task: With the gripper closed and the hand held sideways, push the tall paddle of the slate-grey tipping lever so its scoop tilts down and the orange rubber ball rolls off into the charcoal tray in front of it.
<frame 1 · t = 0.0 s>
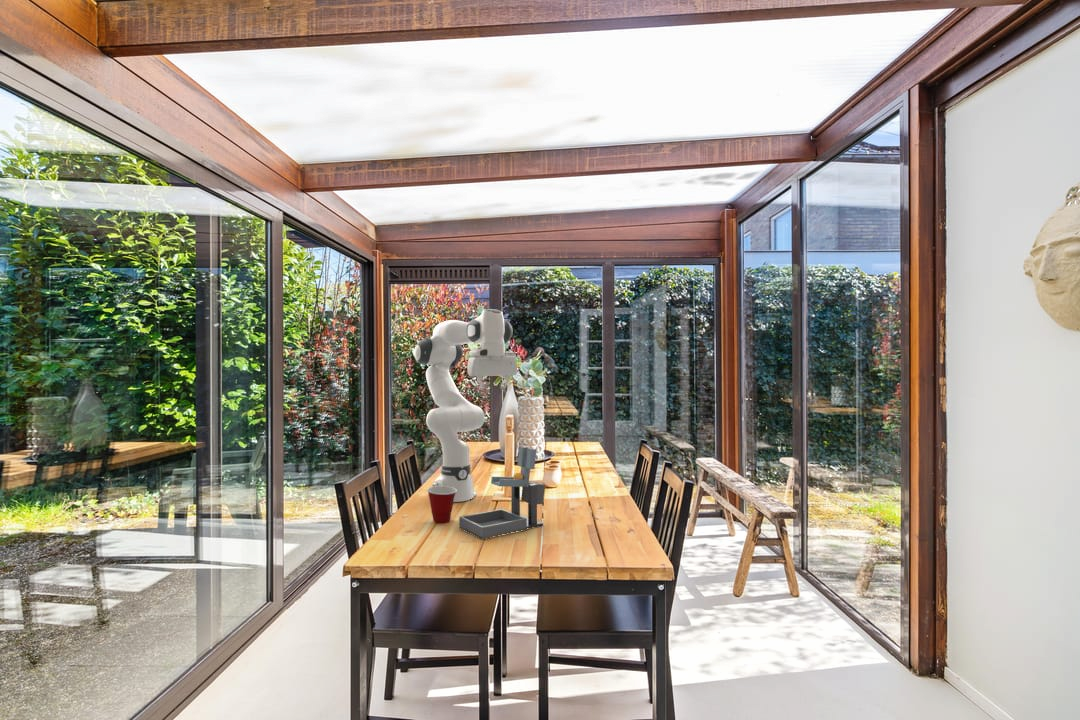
hand: (493, 388, 223), 48 cm above the table, tool pointing down, fingers open, 8 cm apart
lever stand: (524, 522, 212), on the table
lever: (519, 474, 210), point 18 cm above the table, hinge at -8.0°, touching ball
tray: (492, 529, 204), on the table
ball: (518, 477, 210), point 17 cm above the table, touching lever
plastic cup: (442, 522, 214), on the table
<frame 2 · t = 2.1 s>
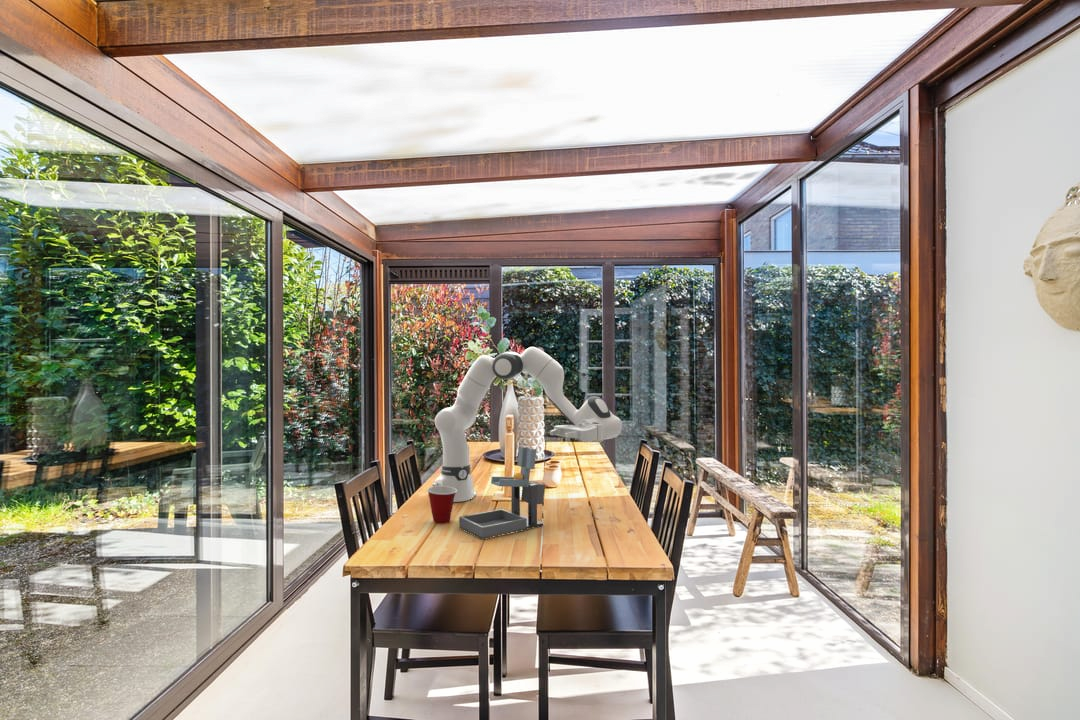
hand: (558, 434, 220), 31 cm above the table, tool horizontal, fingers open, 8 cm apart
nothing on the table moved.
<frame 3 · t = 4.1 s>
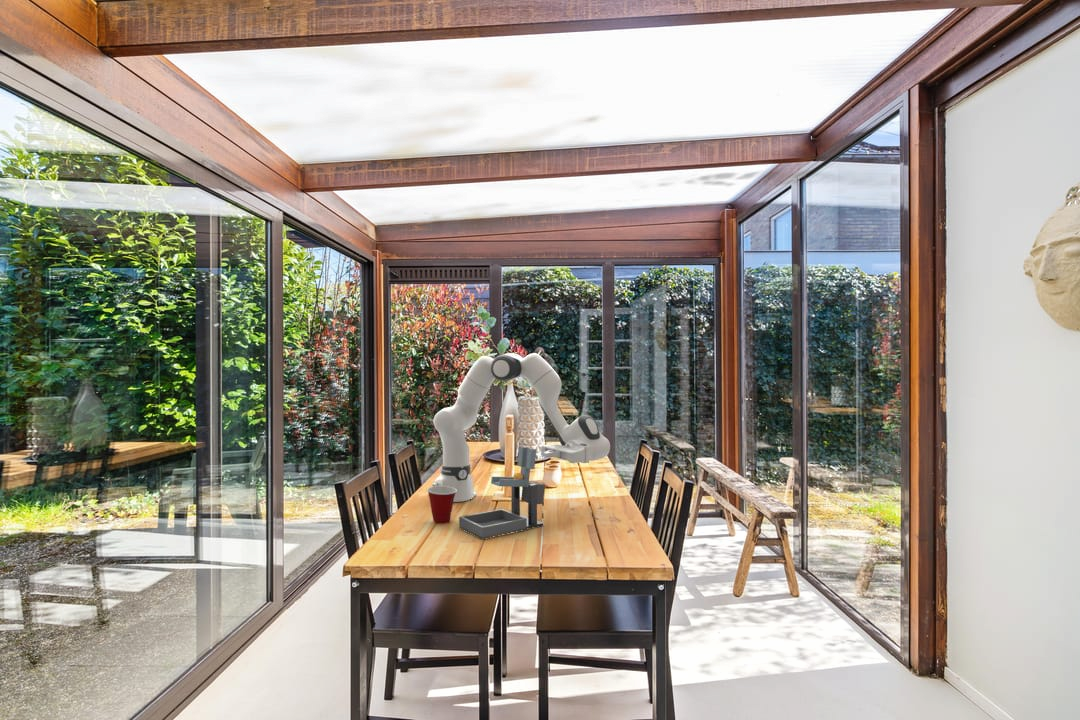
hand: (545, 454, 217), 24 cm above the table, tool horizontal, fingers closed
nothing on the table moved.
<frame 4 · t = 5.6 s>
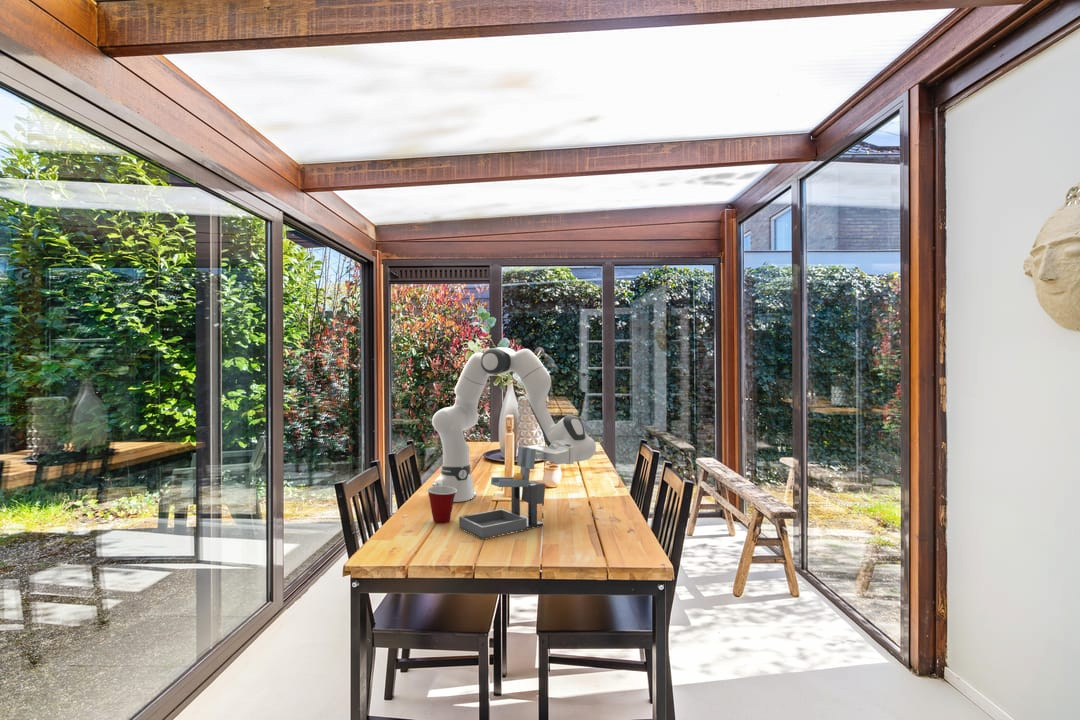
hand: (529, 455, 213), 24 cm above the table, tool horizontal, fingers closed, pressing on lever
lever: (518, 475, 210), point 18 cm above the table, hinge at -6.8°, touching ball, gripper
everything else where it was.
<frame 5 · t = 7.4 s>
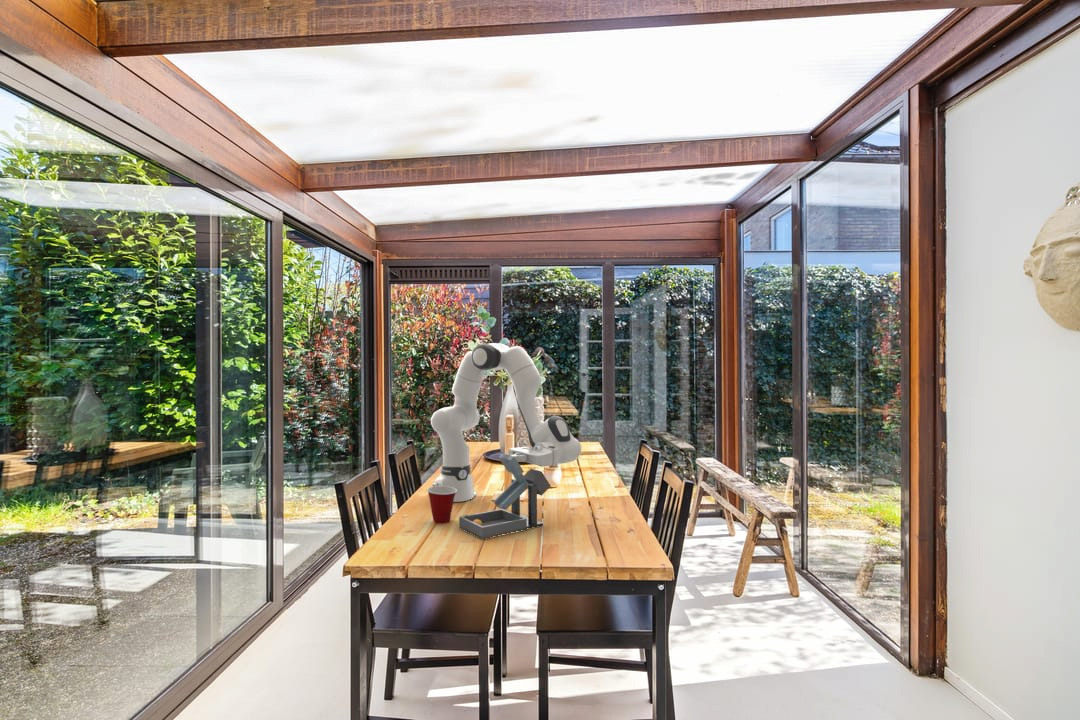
hand: (511, 458, 208), 24 cm above the table, tool horizontal, fingers closed, pressing on lever
lever: (514, 482, 209), point 15 cm above the table, hinge at 35.1°, touching gripper
ball: (477, 524, 200), point 3 cm above the table, tilted 95°, touching tray
everything else where it was.
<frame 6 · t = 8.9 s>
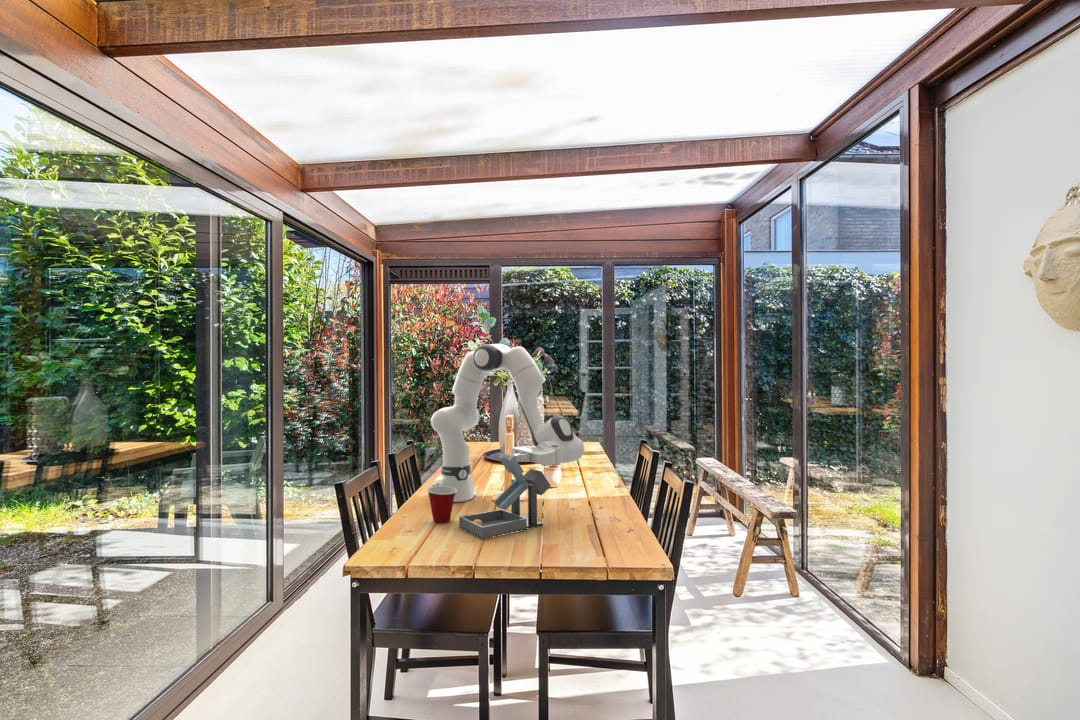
hand: (514, 457, 209), 24 cm above the table, tool horizontal, fingers closed
lever: (514, 482, 209), point 15 cm above the table, hinge at 35.3°
everything else where it was.
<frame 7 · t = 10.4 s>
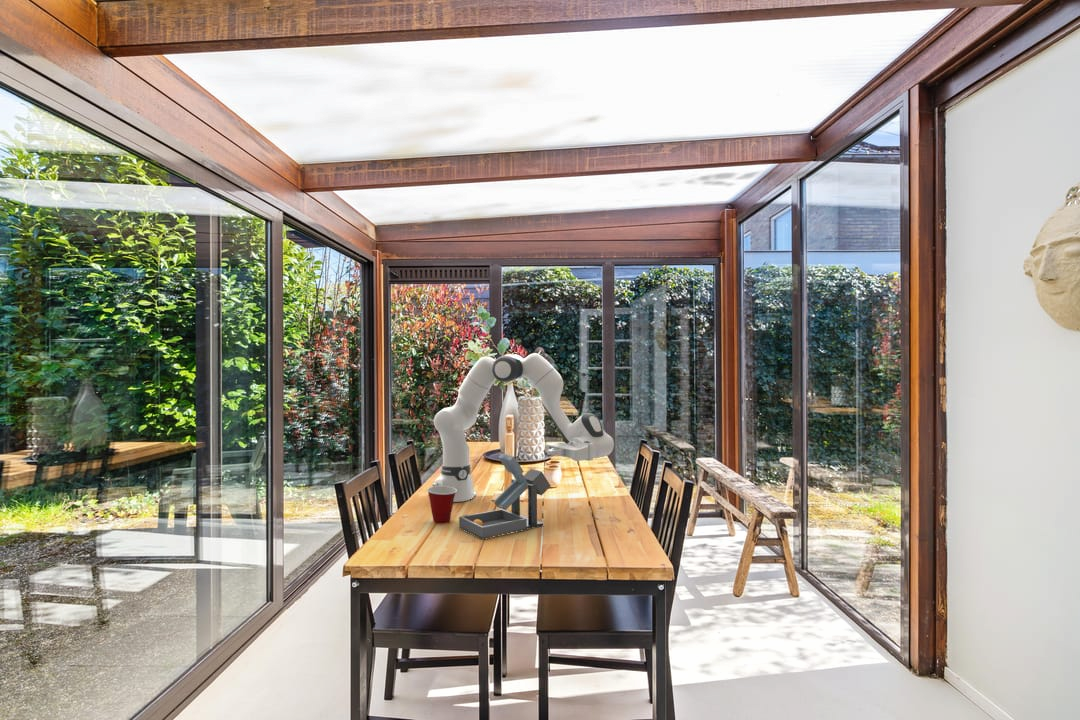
hand: (549, 452, 218), 24 cm above the table, tool horizontal, fingers closed
nothing on the table moved.
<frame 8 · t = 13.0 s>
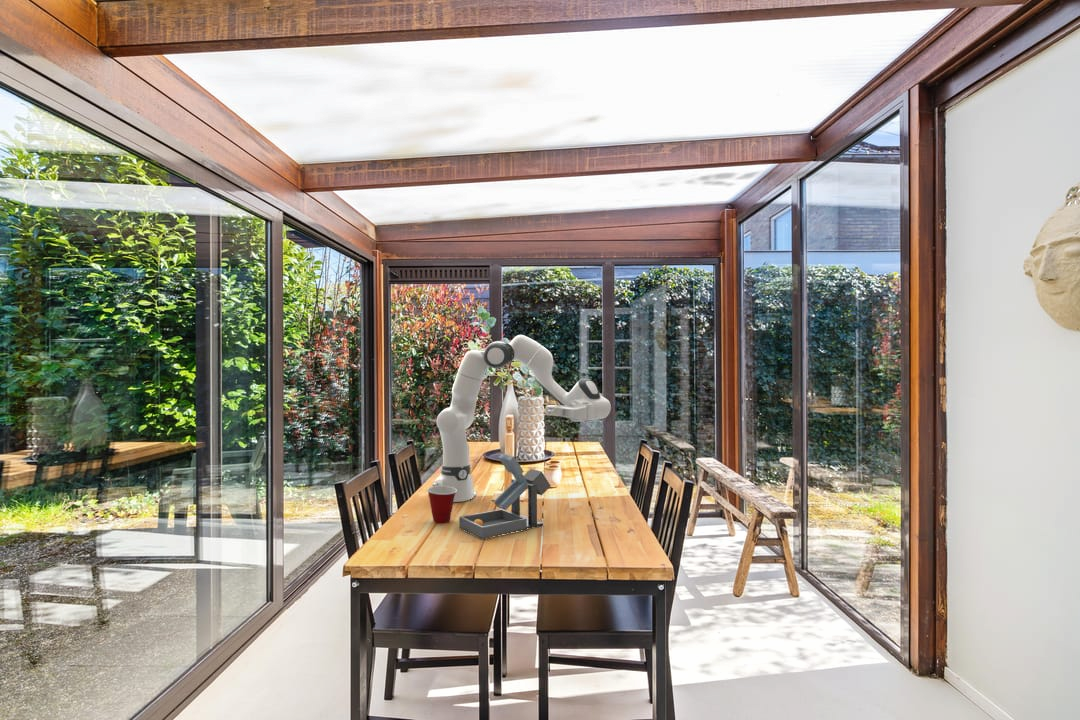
hand: (549, 412, 229), 38 cm above the table, tool horizontal, fingers closed
nothing on the table moved.
at the end: ball inside the target area on the tray (5.8 cm from its centre), point 2.6 cm above the tray's base; ball moved 21.6 cm from its start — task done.
